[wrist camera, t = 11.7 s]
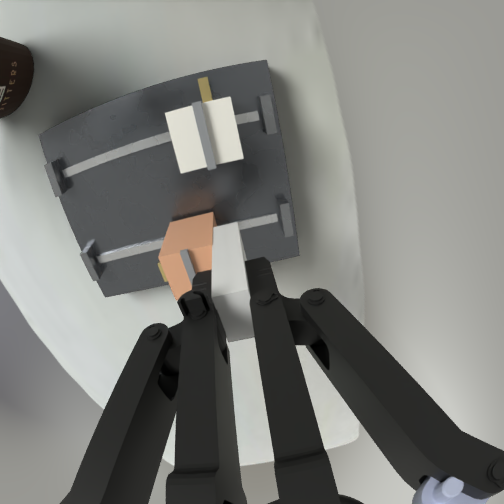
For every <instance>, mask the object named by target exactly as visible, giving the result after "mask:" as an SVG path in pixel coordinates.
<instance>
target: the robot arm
mask: <svg viewBox="0 0 504 504" xmlns="http://www.w3.org/2000/svg"><path fill="white" fill-rule="evenodd" d="M177 303H178V305H179V308H180V310H181V312H182V314H183V316H184V320H183V321H182V322H181V323H179V324H177V325H175V326H172V327H170V328H168V327H167V326H166V325H165V324H162V323H156V324H152V325H150V326H148V327H147V328H146V329H144V330H143V332H142V333H141V335H140V337H139V339H138V341H137V343H136V345H135V347H134V349H133V351H132V353H131V355H130V357H129V359H128V361H127V363H126V365H125V367H124V369H123V371H122V373H121V375H120V377H119V379H118V381H117V383H116V385H115V388H114V390H113V392H112V394H111V396H110V398H109V400H108V403H107V405H106V407H105V409H104V411H103V414H102V416H101V418H100V420H99V423H98V425H97V427H96V429H95V432H94V434H93V436H92V439H91V441H90V443H89V446H88V448H87V450H86V453H85V455H84V458H83V460H82V463H81V465H80V468H79V470H78V473H77V475H76V478H75V481H74V483H73V486H72V488H71V491H70V492H69V493H68V495H67V496H66V497H65V498H64V499H63V500H62V502H61V503H60V504H148V502H149V499H150V496H151V492H152V489H153V485H154V482H155V479H156V475H157V472H158V469H159V466H160V462H161V459H162V456H163V453H164V449H165V446H166V443H167V440H168V436H169V433H170V430H171V427H172V424H173V421H174V417H175V414H176V435H175V467H174V471H173V472H172V473H170V474H169V475H168V477H167V480H166V504H247V500H246V496H245V493H244V491H243V488H242V483H241V473H240V464H239V455H238V445H237V435H236V425H235V414H234V403H233V391H232V379H231V367H230V353H229V349H228V346H227V344H226V337H227V340H228V342H233V341H238V340H243V339H248V338H252V337H255V342H256V348H257V355H258V361H259V367H260V373H261V380H262V386H263V392H264V398H265V404H266V410H267V416H268V422H269V428H270V434H271V440H272V446H273V452H274V459H275V463H274V468H275V476H276V482H277V488H278V494H279V499H278V500H276V501H273V502H271V503H268V504H363V503H362V502H360V501H358V500H356V499H354V498H351V497H348V496H345V495H339V494H338V491H337V487H336V483H335V479H334V476H333V472H332V468H331V464H330V461H329V458H328V455H327V452H326V451H325V449H324V446H323V442H322V438H321V435H320V431H319V428H318V424H317V420H316V417H315V413H314V409H313V406H312V402H311V399H310V395H309V392H308V388H307V385H306V381H305V378H304V374H303V370H302V367H301V363H300V360H299V357H298V353H297V350H296V346H295V345H306V348H307V349H308V351H309V352H310V353H311V355H312V356H313V358H314V359H315V360H316V362H317V363H318V365H319V366H320V367H321V369H322V370H323V372H324V373H325V374H326V376H327V377H328V378H329V380H330V381H331V383H332V384H333V385H334V387H335V388H336V390H337V391H338V392H339V394H340V395H341V397H342V398H343V399H344V401H345V402H346V403H347V405H348V406H349V408H350V409H351V410H352V412H353V413H354V415H355V416H356V417H357V419H358V420H359V421H360V423H361V424H362V425H363V427H364V428H365V430H366V431H367V432H368V434H369V435H370V436H371V438H372V439H373V440H374V442H375V443H376V445H377V446H378V447H379V449H380V450H381V451H382V453H383V454H384V456H385V457H386V458H387V460H388V461H389V462H390V464H391V465H392V466H393V468H394V469H395V470H396V472H397V473H398V474H399V475H400V476H401V477H402V479H403V480H404V481H405V482H406V483H407V484H409V485H410V486H411V487H412V488H413V489H414V490H416V493H415V494H414V497H413V500H412V504H485V503H486V502H487V500H488V499H489V498H490V497H491V496H493V495H495V494H497V493H499V492H501V491H502V490H504V451H503V450H501V449H498V448H496V447H494V446H492V445H490V444H488V443H485V442H483V441H481V440H479V439H477V438H475V437H473V436H471V435H469V434H467V433H465V432H463V431H461V430H460V429H459V428H458V427H457V426H456V424H455V423H454V422H453V421H452V420H451V419H450V418H449V417H448V416H447V414H446V413H445V412H444V411H443V410H442V409H441V408H440V407H439V406H438V405H437V404H436V403H435V401H434V400H433V399H432V398H431V397H430V396H429V395H428V394H427V393H426V392H425V390H424V389H423V388H422V387H421V386H420V385H419V384H418V383H417V382H416V381H415V380H414V379H413V378H412V377H411V375H409V373H408V372H407V371H406V370H405V369H404V368H403V367H402V366H401V365H400V364H399V363H398V362H397V361H396V360H395V359H394V357H393V356H392V355H391V354H390V353H389V352H388V351H387V350H386V349H385V348H384V347H383V346H382V345H381V344H380V343H379V342H378V341H377V340H376V339H375V338H374V337H373V336H372V335H371V334H370V333H369V331H368V330H367V329H366V328H365V327H364V326H363V325H362V324H361V323H360V322H359V321H358V320H357V319H356V318H355V317H354V316H353V315H352V314H351V313H350V312H349V311H348V310H347V309H346V308H345V307H344V306H343V305H342V304H341V303H340V302H339V301H338V300H337V299H336V298H335V297H334V296H333V295H332V294H331V293H330V292H329V291H327V290H325V289H321V288H315V289H311V290H308V291H306V292H304V293H303V294H302V296H301V297H300V299H293V298H287V297H284V296H282V295H281V294H280V293H279V291H278V288H277V285H276V282H275V278H274V275H273V272H272V268H271V265H270V262H269V260H267V259H266V258H265V257H260V258H256V259H251V260H247V258H246V254H245V250H244V246H243V242H242V238H241V234H240V230H239V226H238V222H234V223H230V224H226V225H221V226H217V227H213V245H212V269H211V270H206V271H202V272H197V273H196V275H195V276H194V278H193V281H192V290H190V291H188V292H186V293H184V294H183V295H182V296H181V297H180V298H179V299H178V302H177ZM176 411H177V412H176Z"/></svg>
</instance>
